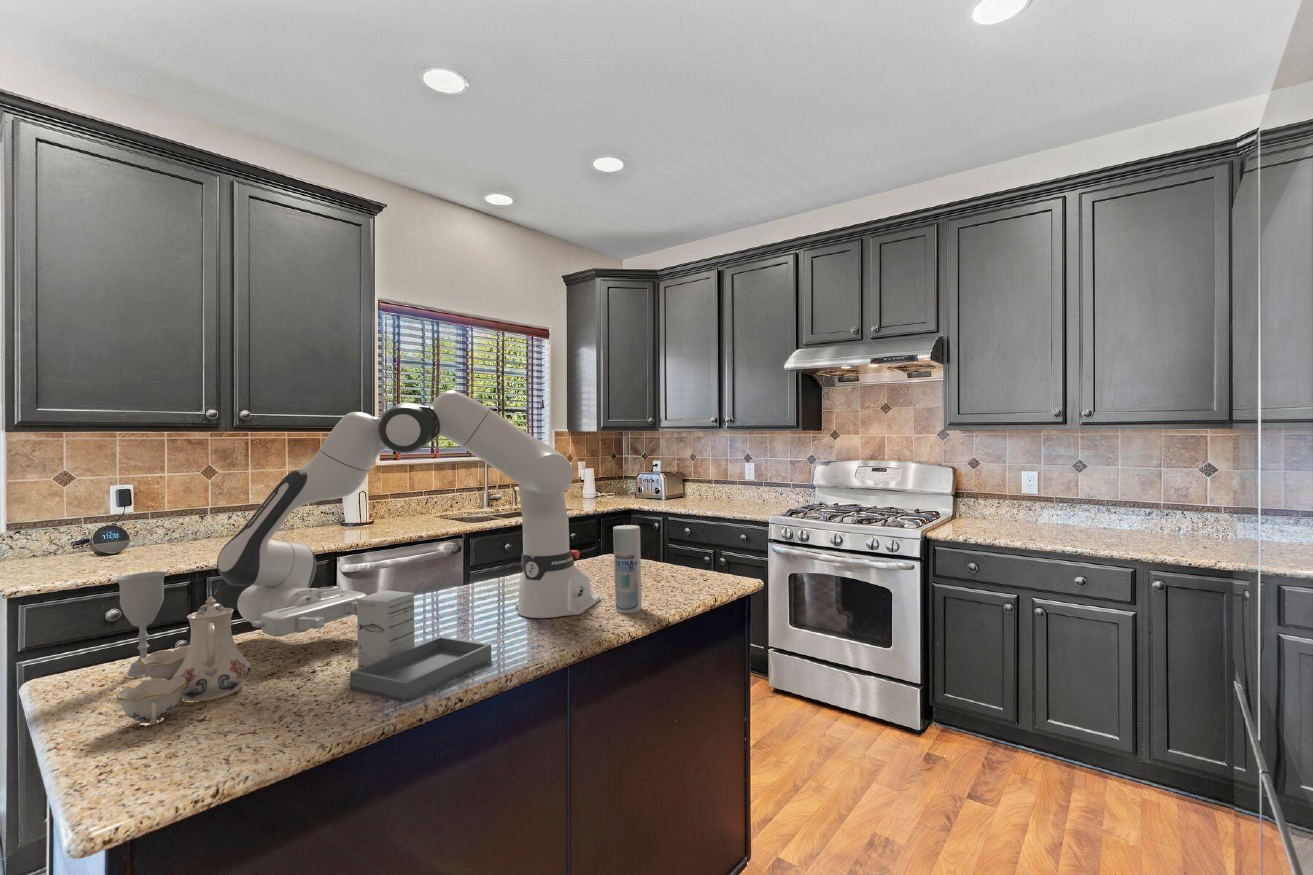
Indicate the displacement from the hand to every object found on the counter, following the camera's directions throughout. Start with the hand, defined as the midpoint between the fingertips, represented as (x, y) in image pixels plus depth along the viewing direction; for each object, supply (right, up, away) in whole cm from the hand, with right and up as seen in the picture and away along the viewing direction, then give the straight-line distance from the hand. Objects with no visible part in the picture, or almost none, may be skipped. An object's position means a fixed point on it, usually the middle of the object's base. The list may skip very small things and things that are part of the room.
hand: (343, 616), depth 122 cm
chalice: (-33, -8, -8) cm, 35 cm away
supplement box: (+11, -7, -5) cm, 14 cm away
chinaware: (-16, -8, -20) cm, 26 cm away
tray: (+21, -7, -13) cm, 25 cm away
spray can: (+56, -6, +26) cm, 62 cm away
